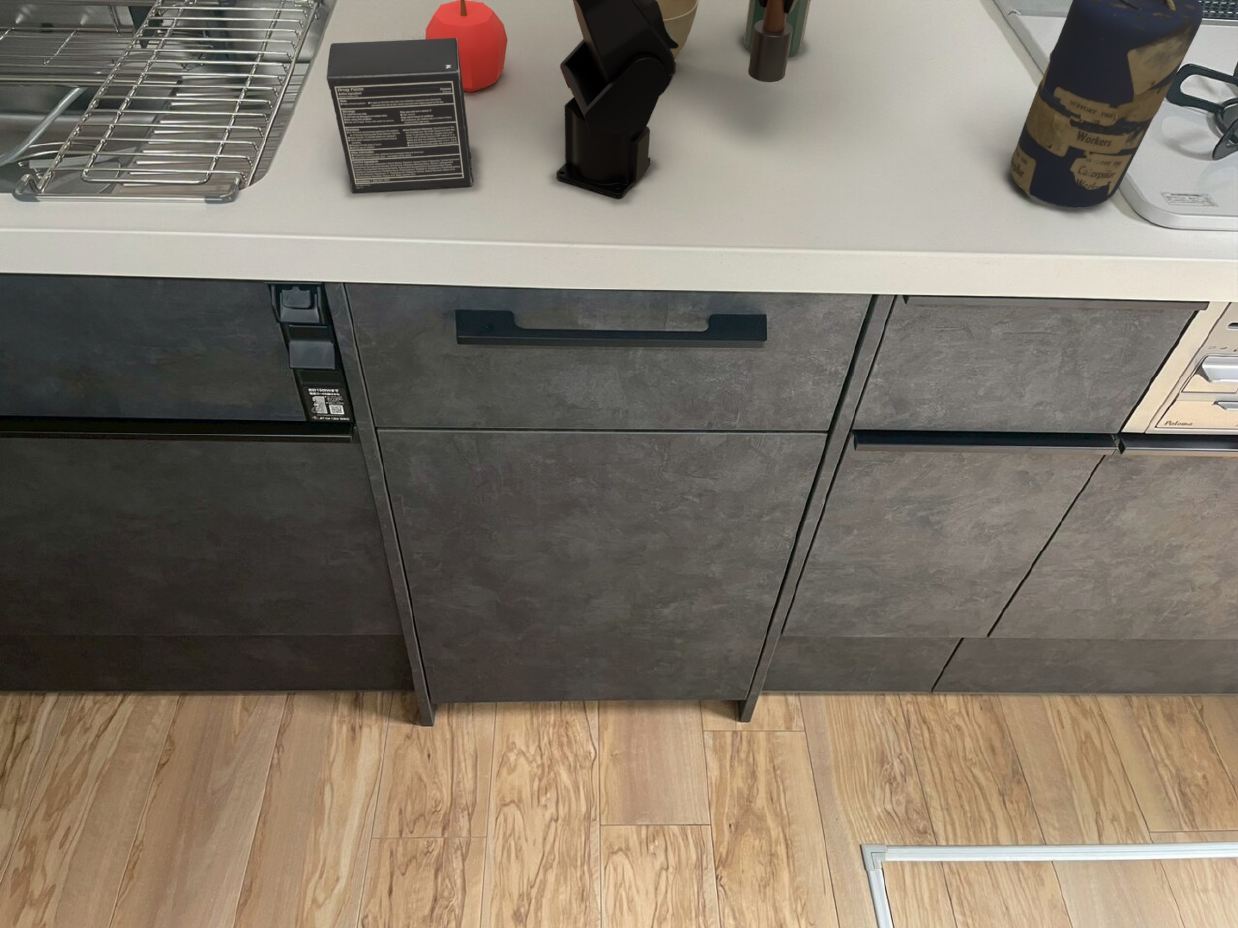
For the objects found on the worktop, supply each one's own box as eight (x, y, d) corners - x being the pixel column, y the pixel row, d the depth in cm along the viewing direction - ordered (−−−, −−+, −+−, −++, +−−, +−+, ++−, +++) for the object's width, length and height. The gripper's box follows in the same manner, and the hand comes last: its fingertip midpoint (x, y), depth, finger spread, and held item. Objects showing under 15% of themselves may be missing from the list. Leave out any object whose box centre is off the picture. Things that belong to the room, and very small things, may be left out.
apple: (475, 109, 90) (468, 26, 84) (412, 84, 93) (401, 1, 87) (526, 76, 95) (522, -5, 88) (464, 53, 97) (457, -28, 91)
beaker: (735, 50, 100) (742, -8, 95) (755, 26, 103) (763, -31, 99) (790, 64, 98) (800, 6, 93) (809, 40, 102) (820, -18, 97)
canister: (1034, 221, 81) (1127, 11, 68) (986, 161, 87) (1062, -44, 73) (1133, 211, 83) (1244, 4, 69) (1079, 152, 89) (1171, -50, 75)
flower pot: (575, 60, 97) (575, -11, 92) (651, 36, 101) (655, -34, 96) (634, 102, 92) (637, 29, 87) (711, 74, 96) (719, 3, 91)
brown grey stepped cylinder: (742, 76, 81) (758, -47, 73) (756, 61, 83) (773, -61, 75) (776, 86, 80) (797, -37, 72) (790, 70, 82) (811, -52, 74)
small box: (471, 147, 86) (459, 33, 78) (474, 188, 82) (462, 72, 74) (352, 153, 85) (329, 38, 77) (350, 195, 81) (324, 78, 73)
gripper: (974, -226, 67) (915, -2, 79) (734, -266, 72) (713, -51, 84) (930, -184, 61) (873, 53, 73) (671, -231, 66) (658, -4, 78)
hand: (776, 8), depth 77 cm, fingers closed on brown grey stepped cylinder, 2 cm apart
